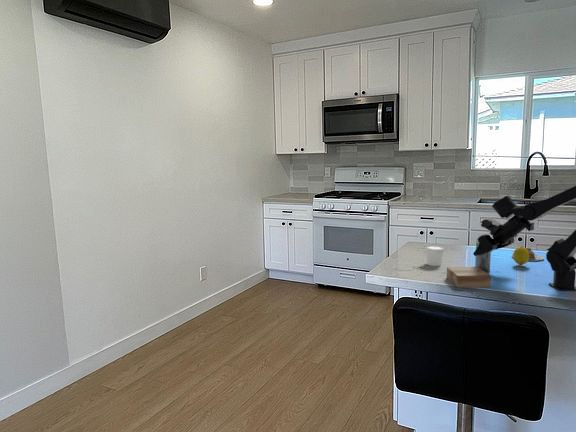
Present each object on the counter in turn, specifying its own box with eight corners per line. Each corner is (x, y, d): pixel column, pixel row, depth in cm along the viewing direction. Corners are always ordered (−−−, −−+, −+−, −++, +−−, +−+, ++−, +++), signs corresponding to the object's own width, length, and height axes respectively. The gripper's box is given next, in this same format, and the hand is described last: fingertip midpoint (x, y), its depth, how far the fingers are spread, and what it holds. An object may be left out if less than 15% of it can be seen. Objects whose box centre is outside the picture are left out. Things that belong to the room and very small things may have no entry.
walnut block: (490, 286, 143) (490, 275, 142) (457, 287, 143) (458, 276, 143) (477, 277, 154) (477, 266, 153) (446, 277, 154) (447, 267, 154)
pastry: (518, 254, 188) (518, 244, 188) (548, 259, 179) (548, 248, 179) (507, 259, 181) (507, 248, 180) (537, 264, 172) (538, 253, 171)
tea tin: (492, 272, 159) (494, 240, 158) (478, 273, 160) (479, 240, 158) (486, 269, 165) (487, 237, 163) (472, 269, 165) (474, 238, 163)
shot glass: (424, 265, 172) (424, 248, 171) (427, 261, 178) (427, 245, 177) (441, 267, 169) (442, 250, 168) (444, 263, 175) (444, 246, 174)
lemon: (530, 267, 165) (531, 247, 164) (515, 267, 166) (516, 247, 165) (525, 264, 171) (526, 244, 169) (510, 263, 172) (511, 244, 171)
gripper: (507, 208, 161) (478, 233, 171) (484, 214, 150) (454, 239, 160) (528, 231, 156) (496, 255, 167) (505, 238, 145) (473, 263, 155)
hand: (480, 252), depth 162 cm, fingers open, 9 cm apart
